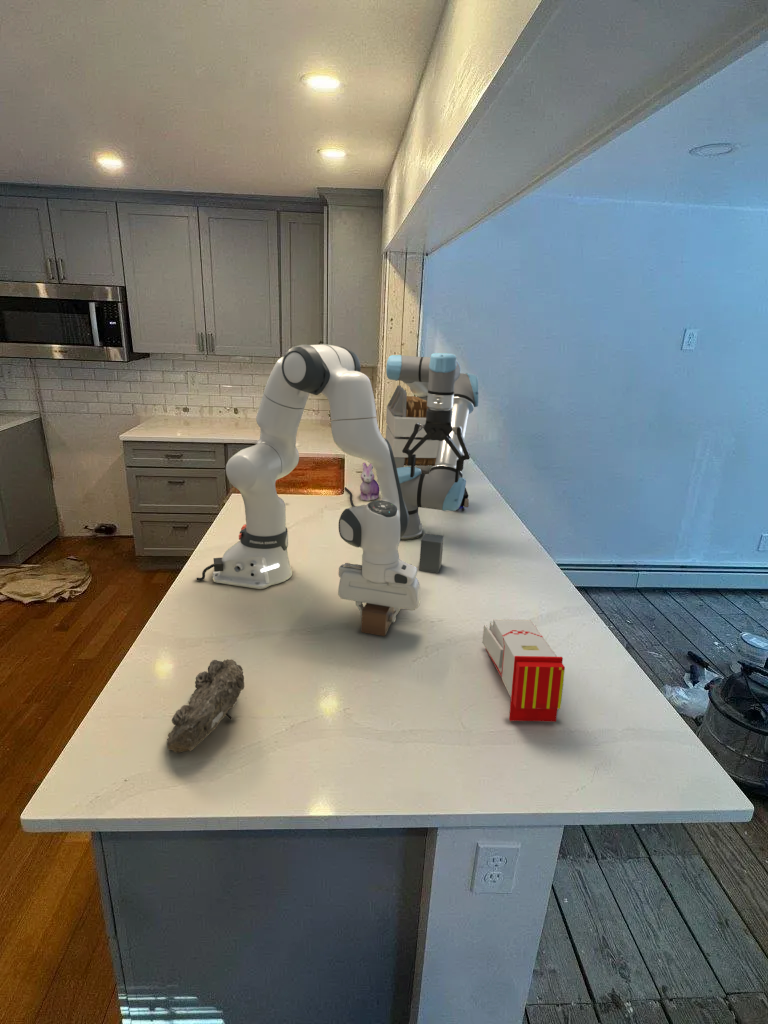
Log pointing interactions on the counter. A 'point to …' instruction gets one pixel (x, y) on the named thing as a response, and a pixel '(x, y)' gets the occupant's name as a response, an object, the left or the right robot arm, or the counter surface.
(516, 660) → the toy
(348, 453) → the left robot arm
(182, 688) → the counter surface
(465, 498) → the figurine character
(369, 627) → the walnut beam
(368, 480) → the figurine
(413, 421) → the white boxy piece
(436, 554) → the cap block
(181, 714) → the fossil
